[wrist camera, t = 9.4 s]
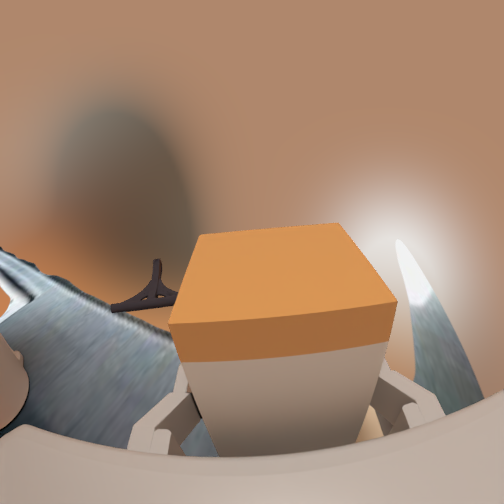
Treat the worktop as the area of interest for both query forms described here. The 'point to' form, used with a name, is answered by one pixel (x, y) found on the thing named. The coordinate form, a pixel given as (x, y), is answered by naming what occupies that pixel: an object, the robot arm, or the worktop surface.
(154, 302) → the bracket
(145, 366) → the worktop surface
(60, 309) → the worktop surface
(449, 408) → the worktop surface
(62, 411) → the worktop surface
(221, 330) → the orange-capped beige carton
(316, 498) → the robot arm
